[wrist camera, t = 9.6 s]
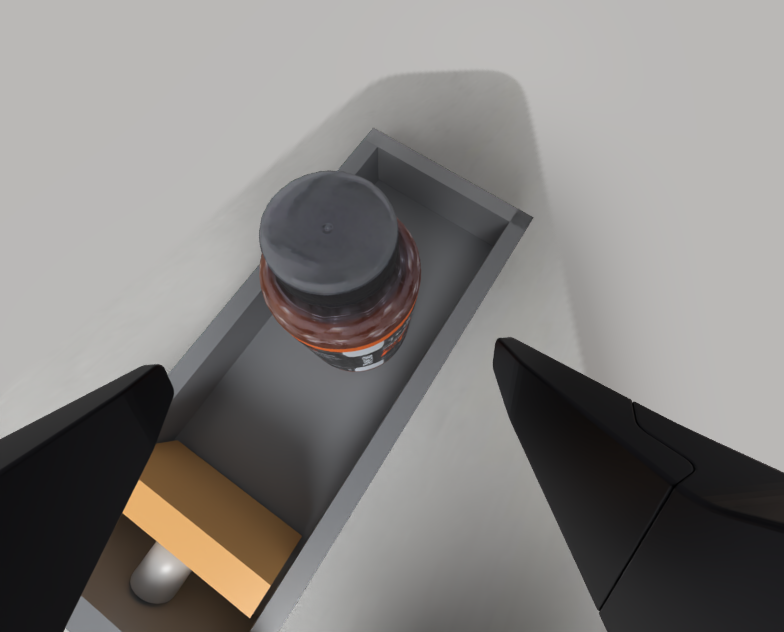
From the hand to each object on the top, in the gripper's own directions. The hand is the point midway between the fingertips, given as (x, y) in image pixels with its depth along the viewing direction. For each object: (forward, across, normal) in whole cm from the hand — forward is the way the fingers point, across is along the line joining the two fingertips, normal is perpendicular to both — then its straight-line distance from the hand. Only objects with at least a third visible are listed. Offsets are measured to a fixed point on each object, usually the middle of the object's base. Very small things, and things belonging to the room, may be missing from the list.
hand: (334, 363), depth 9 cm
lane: (+9, +2, +7) cm, 12 cm away
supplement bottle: (+10, 0, +5) cm, 11 cm away
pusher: (+3, +8, +12) cm, 14 cm away
